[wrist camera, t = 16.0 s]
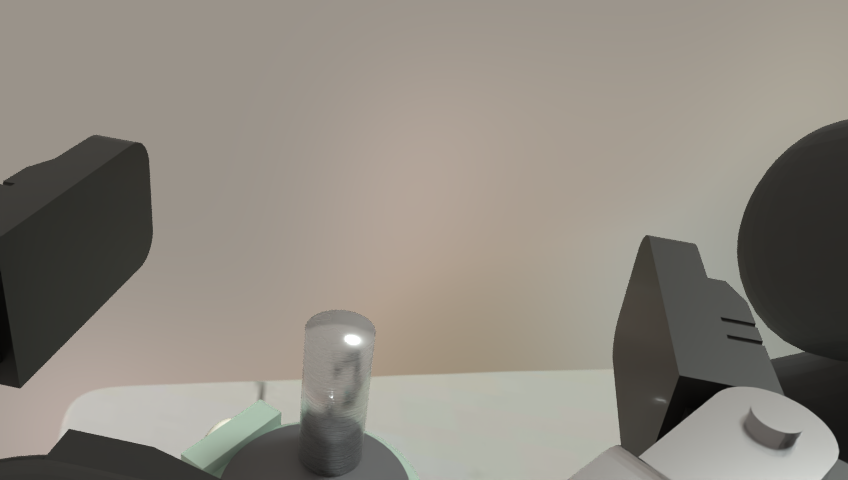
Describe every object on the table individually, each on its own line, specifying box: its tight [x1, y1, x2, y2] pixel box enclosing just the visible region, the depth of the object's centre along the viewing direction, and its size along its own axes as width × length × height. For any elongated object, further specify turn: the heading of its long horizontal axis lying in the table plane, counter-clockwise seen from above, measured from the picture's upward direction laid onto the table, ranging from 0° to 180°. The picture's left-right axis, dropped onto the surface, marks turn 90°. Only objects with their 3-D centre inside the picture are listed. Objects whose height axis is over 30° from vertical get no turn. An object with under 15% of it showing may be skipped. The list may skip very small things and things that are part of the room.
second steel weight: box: [298, 310, 375, 477], centre depth 48 cm, size 4×4×10 cm
